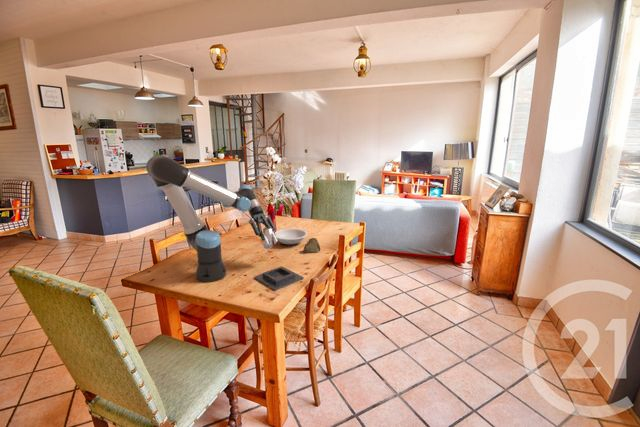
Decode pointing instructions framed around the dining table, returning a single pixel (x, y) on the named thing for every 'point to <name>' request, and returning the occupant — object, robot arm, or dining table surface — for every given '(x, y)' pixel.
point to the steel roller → (268, 237)
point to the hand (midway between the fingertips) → (271, 243)
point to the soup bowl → (290, 236)
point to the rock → (312, 246)
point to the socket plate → (278, 278)
